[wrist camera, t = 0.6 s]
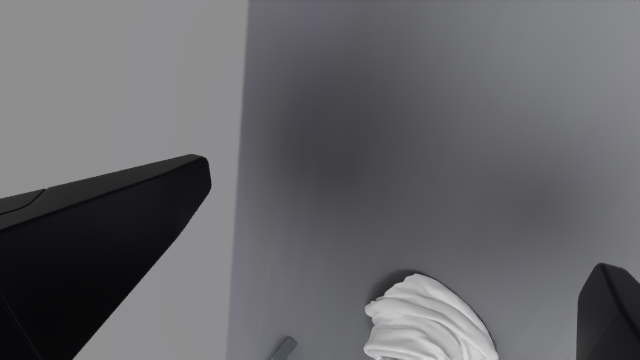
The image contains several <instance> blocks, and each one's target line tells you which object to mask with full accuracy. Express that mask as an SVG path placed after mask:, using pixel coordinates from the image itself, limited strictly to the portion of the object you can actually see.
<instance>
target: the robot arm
mask: <svg viewBox="0 0 640 360" xmlns="http://www.w3.org/2000/svg"><path fill="white" fill-rule="evenodd" d="M210 189H211V177H210V170H209V163H208V161H207V159H206V158H205V157H203V156H199V155H195V154H189V155H185V156H180V157H176V158H172V159H168V160H163V161H159V162H155V163H151V164H146V165H143V166H138V167H134V168H130V169H126V170H121V171H118V172H113V173H108V174H104V175H100V176H96V177H92V178H87V179H83V180H79V181H75V182H70V183H66V184H62V185H58V186H54V187H49V188H47V189H41V190H36V191H33V192H28V193H24V194H19V195H15V196H10V197H6V198H1V199H0V360H73V358H74V357H75V356H76V355H77V354H78V353H79V352H80V350H81V349H82V348H83V347H84V346H85V345H86V343H87V342H88V341H89V340H90V339H91V338H92V336H93V335H94V334H95V333H96V332H97V330H98V329H99V328H100V327H101V326H102V325H103V323H104V322H105V321H106V320H107V319H108V318H109V317H110V315H111V314H112V313H113V312H114V311H115V310H116V308H117V307H118V306H119V305H120V304H121V302H122V301H123V300H124V299H125V298H126V297H127V296H128V294H129V293H130V292H131V291H132V290H133V289H134V288H135V286H136V285H137V284H138V283H139V282H140V281H141V279H142V278H143V277H144V276H145V275H146V274H147V272H148V271H149V270H150V269H151V268H152V266H153V265H154V264H155V263H156V262H157V261H158V260H159V258H160V257H161V256H162V255H163V254H164V253H165V251H166V250H167V249H168V248H169V247H170V246H171V244H172V243H173V242H174V241H175V240H176V238H177V237H178V236H179V235H180V233H181V232H182V231H183V229H184V228H185V227H186V225H187V224H188V222H189V221H190V219H191V218H192V216H193V215H194V214H195V212H196V211H197V209H198V208H199V206H200V205H201V204H202V202H203V201H204V199H205V198H206V196H207V195H208V194H209V192H210ZM576 360H640V283H639V282H638V281H637V280H636V279H635V278H634V277H633V276H632V275H631V274H630V273H629V272H628V271H626V270H625V269H623V268H621V267H617V266H613V265H609V264H605V263H599V264H597V265H596V266H595V267H594V269H593V271H592V272H591V274H590V276H589V278H588V279H587V281H586V283H585V285H584V286H583V288H582V290H581V292H580V295H579V298H578V314H577V347H576Z"/></svg>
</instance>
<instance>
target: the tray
mask: <svg viewBox="0 0 640 360" xmlns="http://www.w3.org/2000/svg"><path fill="white" fill-rule="evenodd" d="M296 345H297V343H296V342H295V341H294V340H293V339H292V338H291V337H289V338H288V339H287V340H286V341H285V342H284V344H283V345H282V346H281V347H280V348H279V349H278V351H277V352H276V353H275V354H274V355H273V356H272V357H271V359H270V360H285V359H286V358H287V357H288V355H289V354H290V353H291V351H292V350H293V349H294V347H295V346H296Z"/></svg>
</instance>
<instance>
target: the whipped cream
mask: <svg viewBox="0 0 640 360" xmlns="http://www.w3.org/2000/svg"><path fill="white" fill-rule="evenodd" d="M365 312H366V314H367V315H368V316H370V317H371V318H372V322H373V323H374V325H375V326H374V327H373V328H372V330H371V335H370V338H369V340H368V341H367V343H366V344H365V346H364V352H365V353H366V354H367V355H368V356H370V357H372V358H374V359H376V360H499V357H498V354H497V352H496V350H495V347H494V344H493V342H492V340H491V337H490V335H489V333H488V331H487V329H486V327H485V326H484V324H483V323H482V321H481V320H480V319H479V318H478V317H477V315H476V314H475V313H474V312H473V310H472V309H471V308H470V307H469V306H468V305H467V304H466V303H465V302H464V301H463V300H462V299H460V297H458V296H457V295H456V294H454V293H453V292H452V291H450V290H449V289H448V288H446V287H445V286H443V285H442V284H441V283H439V282H438V281H436V280H434V279H432V278H430V277H427V276H424V275H420V274H416V273H414V275H412V276H407V277H406V278H405V280H404V281H403V282H401V283H397V284H395V285H394V286H393V287H392V288H390V289H389V290H387V291H386V292H385V294H384V296H382V297H378V298H376V301H371V302H370V304H368V305H366V307H365Z"/></svg>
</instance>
